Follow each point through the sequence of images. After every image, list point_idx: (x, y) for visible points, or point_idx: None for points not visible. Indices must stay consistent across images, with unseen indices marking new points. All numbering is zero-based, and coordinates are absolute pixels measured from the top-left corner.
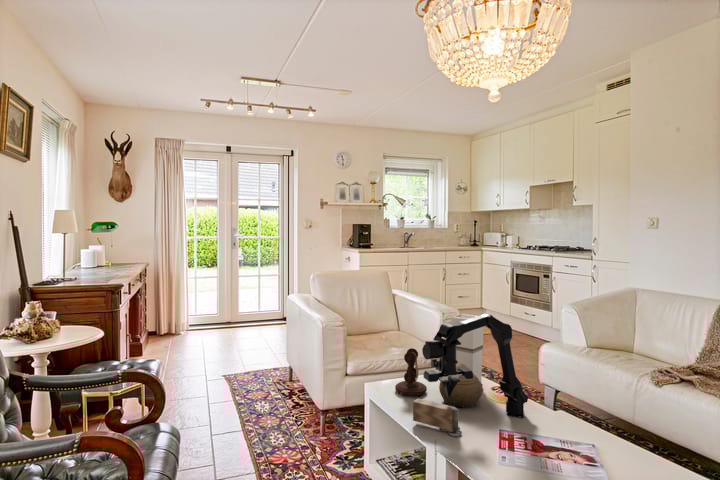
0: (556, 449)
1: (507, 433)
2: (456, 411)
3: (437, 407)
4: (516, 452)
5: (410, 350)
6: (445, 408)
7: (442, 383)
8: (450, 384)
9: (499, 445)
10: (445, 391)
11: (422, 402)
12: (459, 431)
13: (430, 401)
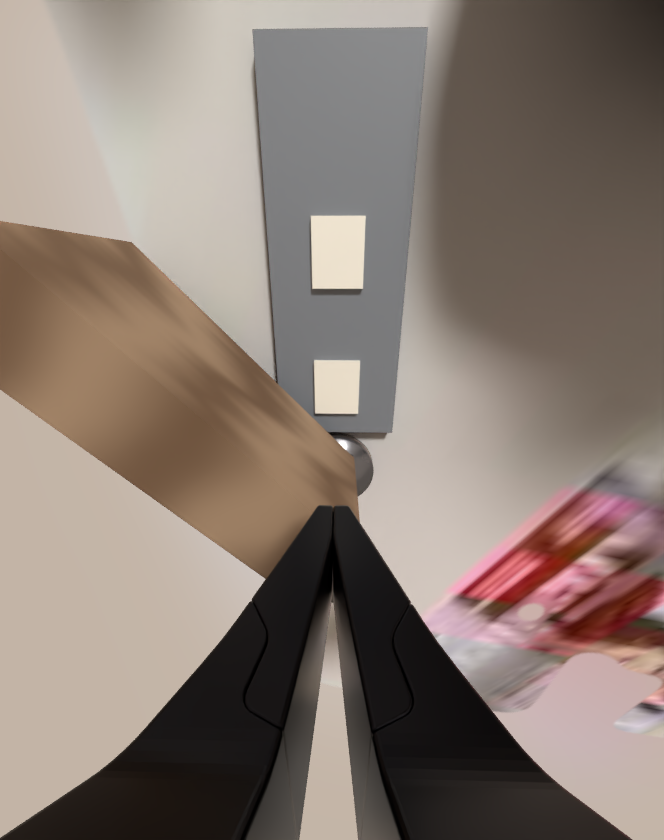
0: (655, 641)
1: (603, 513)
2: (332, 598)
3: (187, 522)
4: (495, 628)
5: None
6: (257, 553)
7: (167, 715)
8: (362, 806)
9: (473, 584)
10: (289, 554)
11: (36, 376)
12: (363, 472)
13: (142, 371)
